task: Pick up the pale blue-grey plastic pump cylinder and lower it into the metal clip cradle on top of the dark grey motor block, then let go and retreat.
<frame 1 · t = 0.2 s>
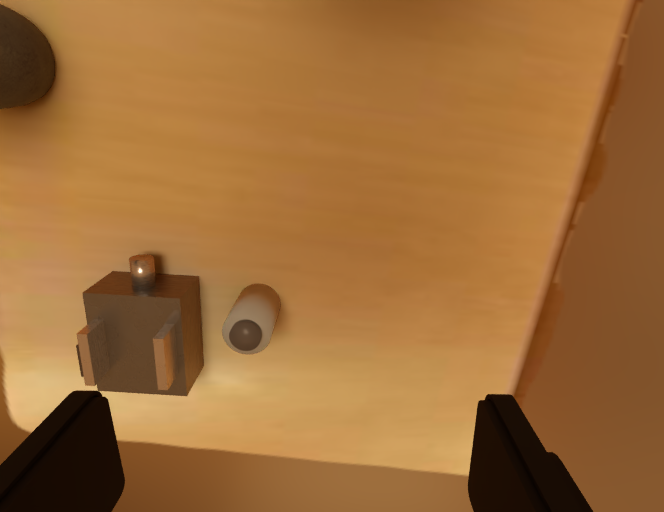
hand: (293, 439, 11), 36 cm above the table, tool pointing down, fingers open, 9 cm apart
motor: (160, 320, 51), on the table
bottle: (16, 59, 42), on the table
pump: (259, 303, 50), on the table
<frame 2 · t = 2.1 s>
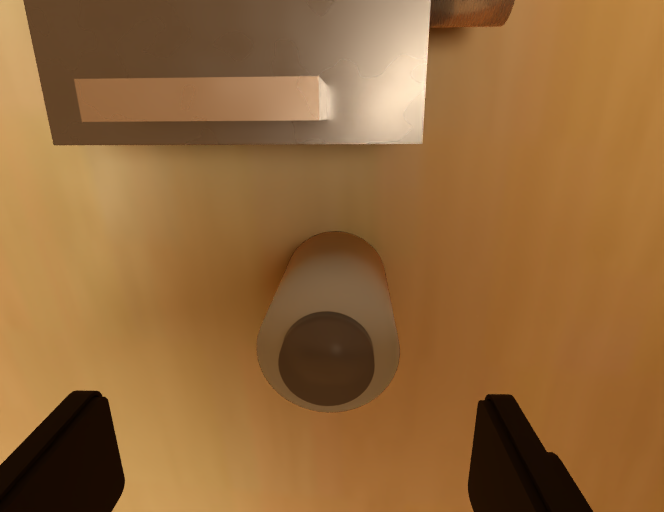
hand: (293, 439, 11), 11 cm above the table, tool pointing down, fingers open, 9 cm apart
motor: (263, 12, 18), on the table
pump: (335, 279, 21), on the table
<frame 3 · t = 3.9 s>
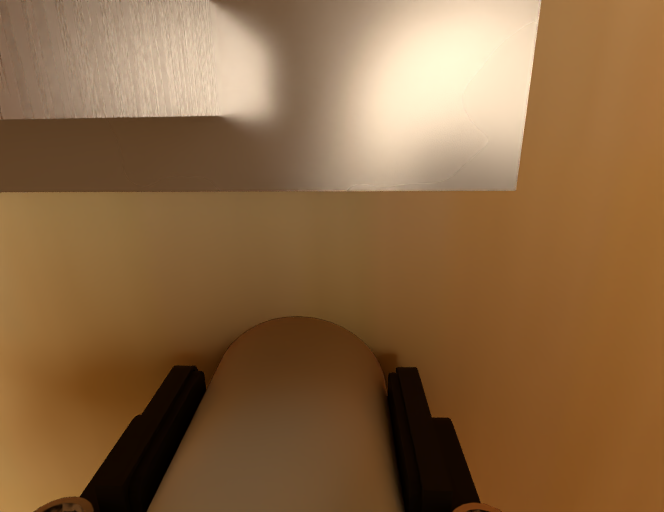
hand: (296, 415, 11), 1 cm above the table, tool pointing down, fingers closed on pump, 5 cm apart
pump: (300, 393, 12), on the table, touching gripper
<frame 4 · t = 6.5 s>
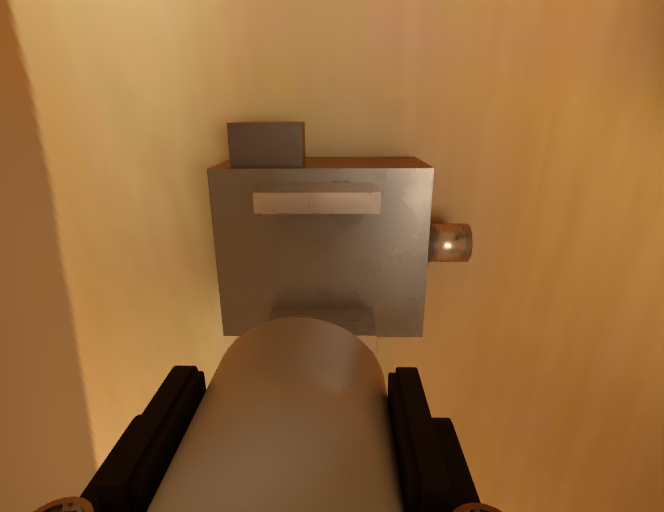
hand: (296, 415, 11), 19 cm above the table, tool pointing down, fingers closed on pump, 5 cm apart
motor: (325, 230, 30), on the table
pump: (300, 393, 12), point 18 cm above the table, touching gripper
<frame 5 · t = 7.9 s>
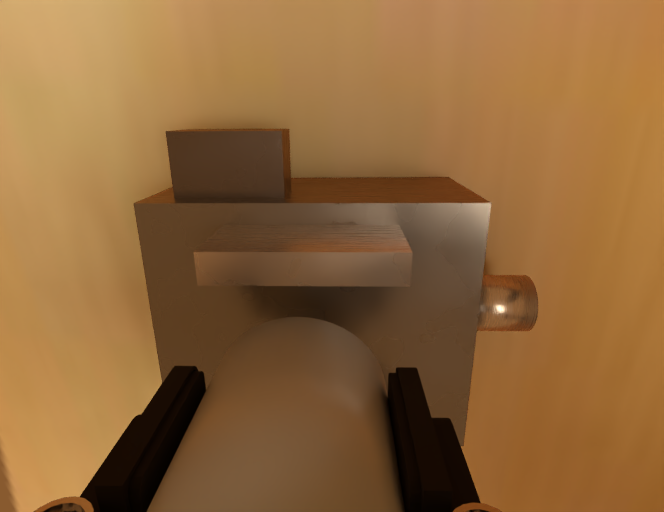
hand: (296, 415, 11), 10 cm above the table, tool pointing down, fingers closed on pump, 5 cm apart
motor: (321, 276, 21), on the table
pump: (300, 393, 12), point 10 cm above the table, touching gripper
when the fingers open (8 cm above the table, at t = 9.2 s): pump drops 1 cm, resting on motor.
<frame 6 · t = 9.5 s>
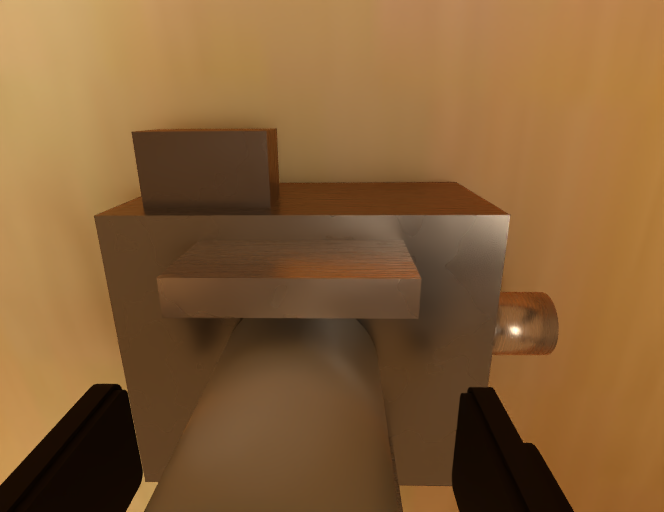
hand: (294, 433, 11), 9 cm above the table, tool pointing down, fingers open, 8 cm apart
motor: (315, 291, 19), on the table
pump: (301, 367, 14), point 6 cm above the table, touching motor
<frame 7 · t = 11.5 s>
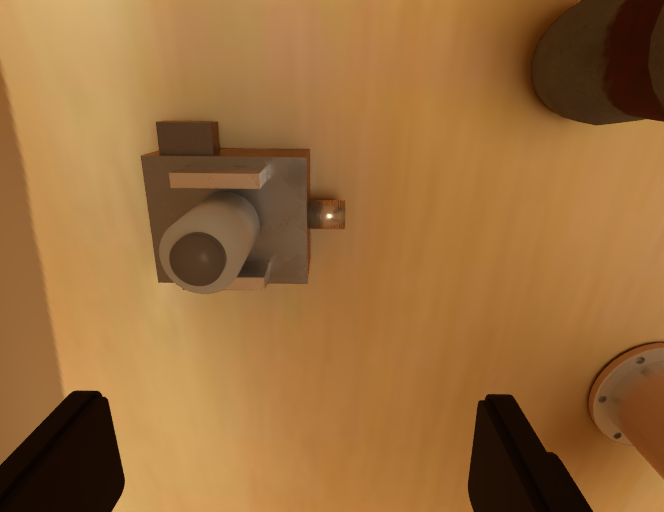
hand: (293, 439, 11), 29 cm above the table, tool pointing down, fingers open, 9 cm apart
motor: (243, 205, 38), on the table
bottle: (578, 64, 34), on the table
pump: (227, 224, 32), point 6 cm above the table, touching motor
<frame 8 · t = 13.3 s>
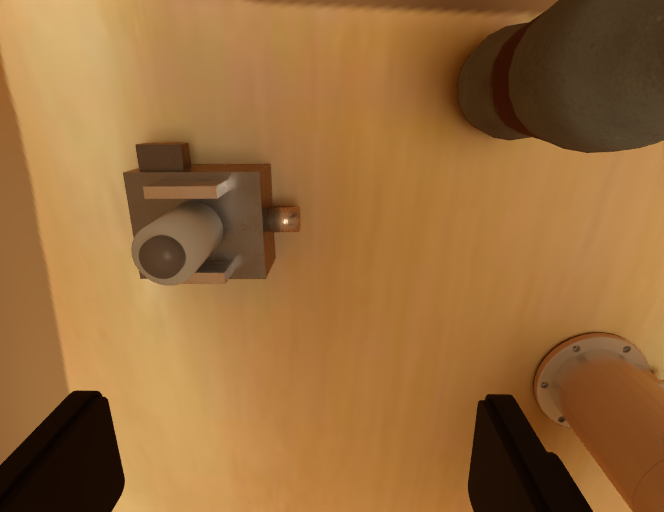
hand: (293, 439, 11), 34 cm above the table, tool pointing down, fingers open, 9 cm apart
motor: (215, 212, 44), on the table
bottle: (499, 87, 40), on the table
pump: (195, 228, 38), point 6 cm above the table, touching motor
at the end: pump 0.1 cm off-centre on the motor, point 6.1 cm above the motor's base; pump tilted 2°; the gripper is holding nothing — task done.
